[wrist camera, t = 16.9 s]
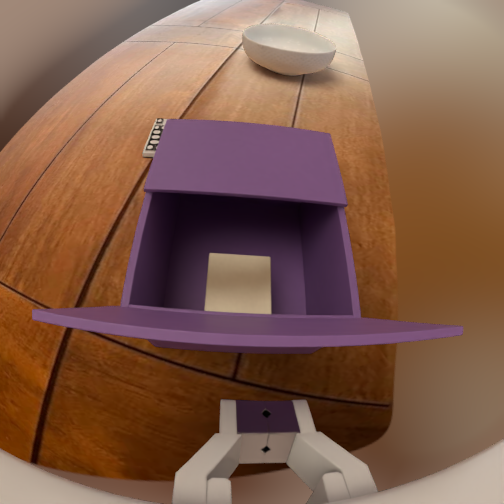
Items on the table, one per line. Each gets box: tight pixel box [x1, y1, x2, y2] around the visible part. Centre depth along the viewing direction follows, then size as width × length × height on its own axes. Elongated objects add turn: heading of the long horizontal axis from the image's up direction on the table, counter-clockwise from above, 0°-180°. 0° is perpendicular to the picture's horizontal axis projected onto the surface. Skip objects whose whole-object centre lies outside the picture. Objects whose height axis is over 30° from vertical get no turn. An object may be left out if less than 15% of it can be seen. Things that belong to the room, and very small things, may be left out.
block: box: [204, 253, 272, 314], centre depth 22 cm, size 4×4×4 cm
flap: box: [32, 306, 463, 347], centre depth 10 cm, size 7×13×1 cm
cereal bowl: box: [242, 24, 336, 76], centre depth 44 cm, size 17×17×7 cm
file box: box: [121, 119, 361, 354], centre depth 22 cm, size 15×13×10 cm
